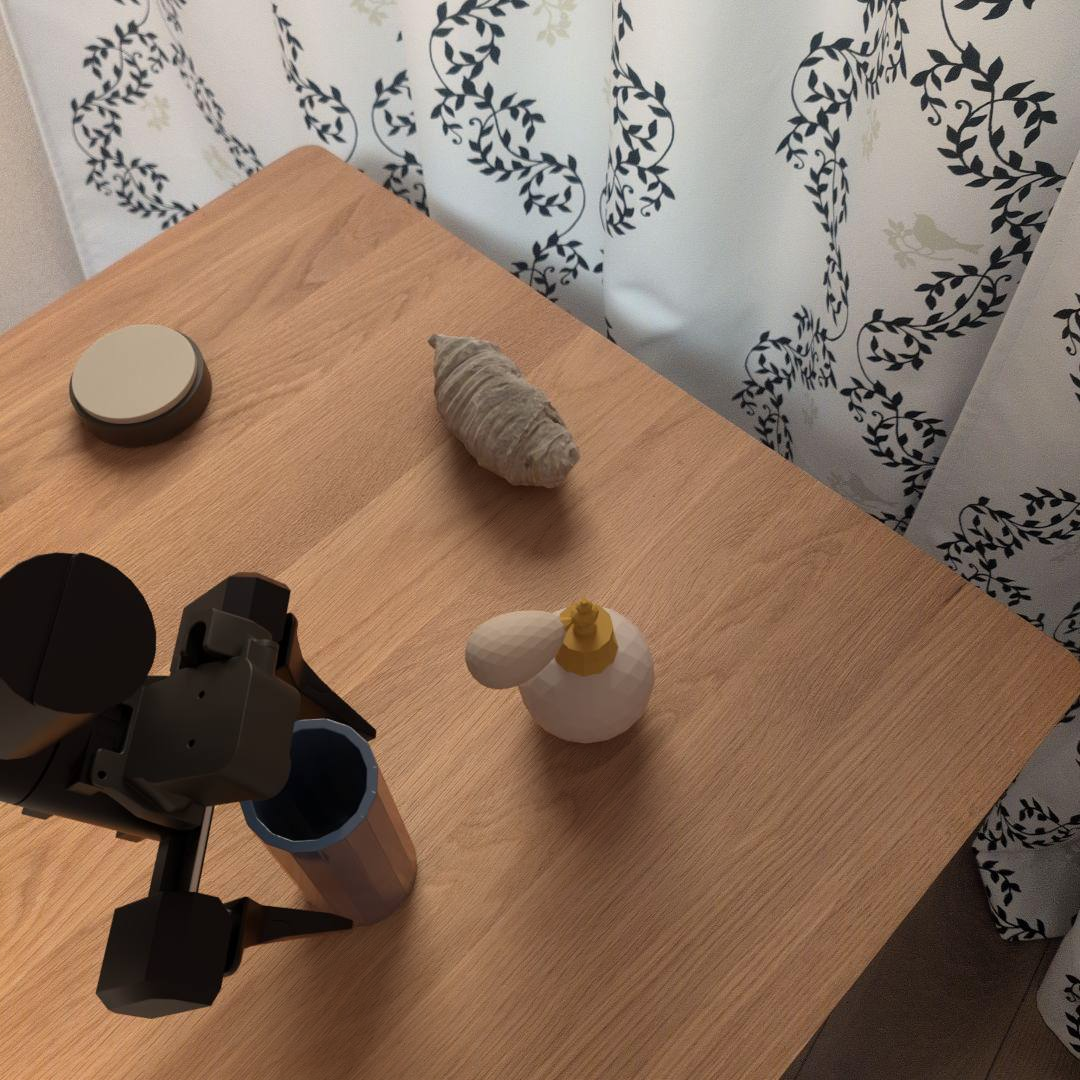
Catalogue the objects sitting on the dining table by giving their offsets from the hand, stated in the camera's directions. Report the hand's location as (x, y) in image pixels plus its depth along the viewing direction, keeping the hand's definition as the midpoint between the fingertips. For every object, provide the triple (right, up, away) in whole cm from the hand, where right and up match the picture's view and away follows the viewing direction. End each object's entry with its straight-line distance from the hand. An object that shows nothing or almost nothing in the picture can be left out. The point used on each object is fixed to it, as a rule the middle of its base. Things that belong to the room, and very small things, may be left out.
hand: (360, 827), depth 55 cm
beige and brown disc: (-18, +24, +24) cm, 38 cm away
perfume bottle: (+11, +4, +10) cm, 15 cm away
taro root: (+6, +20, +21) cm, 30 cm away
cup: (-1, -4, +6) cm, 7 cm away
